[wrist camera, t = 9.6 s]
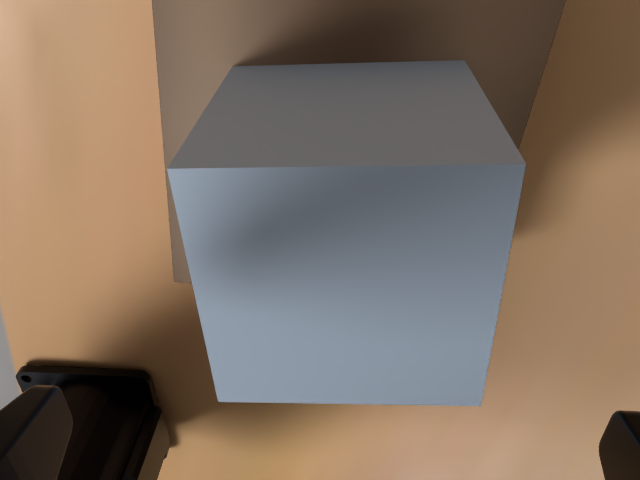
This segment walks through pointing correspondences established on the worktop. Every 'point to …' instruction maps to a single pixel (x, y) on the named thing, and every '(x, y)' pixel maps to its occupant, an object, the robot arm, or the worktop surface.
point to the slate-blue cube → (348, 232)
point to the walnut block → (343, 52)
